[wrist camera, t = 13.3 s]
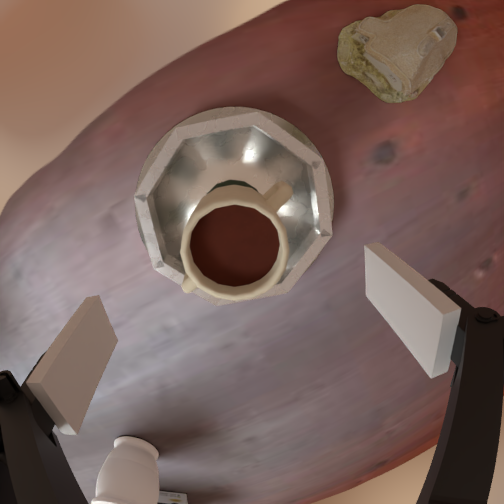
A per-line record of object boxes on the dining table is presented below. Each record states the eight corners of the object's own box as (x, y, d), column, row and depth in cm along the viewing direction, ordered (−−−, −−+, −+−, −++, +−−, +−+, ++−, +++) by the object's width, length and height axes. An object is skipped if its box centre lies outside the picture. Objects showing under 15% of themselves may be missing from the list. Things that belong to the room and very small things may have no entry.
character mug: (221, 267, 34) (217, 336, 22) (172, 222, 32) (139, 272, 20) (295, 196, 32) (334, 232, 20) (247, 146, 30) (258, 150, 18)
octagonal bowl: (165, 312, 36) (160, 325, 34) (117, 133, 29) (107, 133, 26) (340, 279, 36) (348, 290, 34) (317, 94, 29) (325, 90, 26)
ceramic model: (387, 124, 31) (439, 123, 21) (318, 48, 27) (351, 16, 18) (451, 61, 28) (504, 50, 18) (393, -8, 25) (435, -39, 15)
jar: (98, 435, 45) (77, 500, 30) (140, 427, 44) (123, 501, 30) (133, 465, 48) (121, 526, 34) (175, 459, 47) (168, 527, 33)
